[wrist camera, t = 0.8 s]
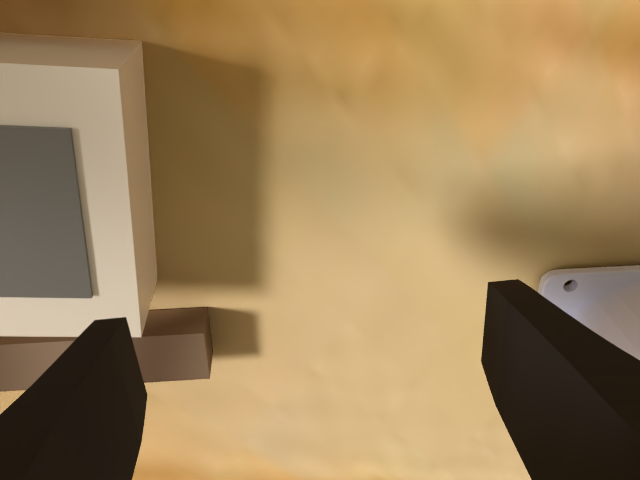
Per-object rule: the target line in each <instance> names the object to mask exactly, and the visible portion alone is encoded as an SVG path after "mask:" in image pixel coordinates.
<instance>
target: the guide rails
mask: <svg viewBox="0 0 640 480" xmlns="http://www.w3.org/2000/svg"><path fill="white" fill-rule="evenodd" d="M77 338H78V337H29V336H0V391H16V390H27V389H28V388H29V387H30V386H31V385H32V384H33V383H34V382H35V381H36V380H37V379H38V378H39V377H40V376H41V375H42V374H43V373H44V372H45V371H46V370H47V369H48V368H49V367H50V366H51V365H52V364H53V363H54V362H55V361H56V360H57V359H58V358H59V357H60V355H61V354H62V353H63V352H64V351H65V350H66V349H67V348H68V347H69V346H70V345H71V344H72V343H73V342H74V341H75V340H76V339H77ZM132 341H133V344H134V348H135V352H136V355H137V359H138V363H139V367H140V370H141V374H142V378H143V381H144V383H146V382H162V381H178V380H194V379H210V371H211V362H212V353H213V349H212V341H211V333H210V324H209V316H208V308H207V307H202V308H184V309H165V310H149V312H148V315H147V319H146V323H145V326H144V330H143V334H142V337H132Z"/></svg>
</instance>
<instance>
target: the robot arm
mask: <svg viewBox="0 0 640 480" xmlns="http://www.w3.org/2000/svg"><path fill="white" fill-rule="evenodd" d="M568 280H572V282H571V283H570V284H569V285H566V286H564V284H565V283H566V282H567V281H568ZM481 362H482V365H483V369H484V372H485V375H486V378H487V381H488V384H489V387H490V390H491V393H492V396H493V399H494V402H495V405H496V407H497V409H498V411H499V413H500V415H501V418H502V420H503V422H504V424H505V426H506V428H507V430H508V432H509V434H510V436H511V438H512V440H513V442H514V445H515V447H516V449H517V451H518V453H519V455H520V457H521V459H522V461H523V463H524V465H525V467H526V469H527V471H528V473H529V475H530V477H531V479H532V480H640V265H633V266H614V267H594V268H575V269H556V270H551V271H549V272H547V273H545V274H544V275H543V276H542V278H541V280H540V283H539V288H538V292H536V291H535V290H534V289H532V288H531V287H529V286H528V285H526V284H525V283H523V282H522V281H520V280H518V279H517V280H507V281H496V282H488V290H487V301H486V313H485V324H484V336H483V347H482V358H481ZM146 401H147V392H146V389H145V385H144V381H143V378H142V374H141V370H140V367H139V363H138V359H137V355H136V352H135V348H134V344H133V341H132V337H131V333H130V330H129V326H128V322H127V319H126V317H121V318H110V319H100V320H94V321H93V322H92V323H91V324H90V325H89V326H88V327H87V328H86V329H85V330H84V331H83V332H82V333H81V334H80V335H79V337H78V338H77V339H76V340H75V341H74V342H73V343H72V344H71V345H70V346H69V347H68V348H67V349H66V350H65V351H64V352H63V353H62V354H61V355H60V357H59V358H58V359H57V360H56V361H55V362H54V363H53V364H52V365H51V366H50V367H49V368H48V369H47V370H46V371H45V372H44V373H43V374H42V375H41V376H40V377H39V378H38V379H37V380H36V381H35V382H34V383H33V384H32V385H31V386H30V387H29V388H28V389H27V390H26V391H25V392H24V393H23V394H22V395H21V396H20V397H19V398H18V399H17V400H16V401H14V402H13V403H12V404H11V405H10V406H9V407H8V408H7V409H6V410H5V411H4V412H3V413H2V414H0V480H132V477H133V473H134V469H135V465H136V461H137V457H138V453H139V449H140V445H141V441H142V434H143V426H144V419H145V410H146Z"/></svg>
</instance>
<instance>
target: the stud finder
mask: <svg viewBox="0 0 640 480" xmlns="http://www.w3.org/2000/svg"><path fill="white" fill-rule="evenodd" d="M157 279H158V278H157V263H156V248H155V233H154V218H153V202H152V187H151V172H150V157H149V142H148V127H147V112H146V96H145V81H144V66H143V51H142V41H141V40H124V39H107V38H89V37H72V36H55V35H37V34H20V33H3V32H0V336H29V337H79V335H80V334H81V333H82V332H83V331H84V330H85V329H86V328H87V327H88V326H89V325H90V324H91V323H92V322H93V321H94V320H100V319H110V318H121V317H126V319H127V322H128V326H129V330H130V333H131V337H142V334H143V330H144V326H145V323H146V319H147V315H148V312H149V308H150V304H151V301H152V297H153V293H154V290H155V286H156V282H157Z"/></svg>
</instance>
